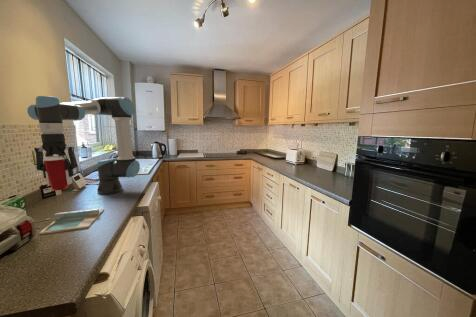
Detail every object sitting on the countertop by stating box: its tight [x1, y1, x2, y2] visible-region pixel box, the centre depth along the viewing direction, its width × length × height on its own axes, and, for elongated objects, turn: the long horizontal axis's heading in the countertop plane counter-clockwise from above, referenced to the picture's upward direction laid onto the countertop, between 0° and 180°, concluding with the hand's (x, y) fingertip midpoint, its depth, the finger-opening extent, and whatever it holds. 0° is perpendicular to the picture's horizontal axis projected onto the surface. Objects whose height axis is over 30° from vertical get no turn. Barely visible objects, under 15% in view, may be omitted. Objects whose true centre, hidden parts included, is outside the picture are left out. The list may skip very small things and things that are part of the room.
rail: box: [54, 208, 100, 221], centre depth 100 cm, size 2×18×3 cm, turn 106°
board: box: [38, 209, 105, 235], centre depth 97 cm, size 20×18×1 cm
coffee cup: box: [43, 154, 70, 191], centre depth 89 cm, size 8×8×15 cm
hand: (60, 184), depth 90 cm, fingers closed on coffee cup, 7 cm apart
